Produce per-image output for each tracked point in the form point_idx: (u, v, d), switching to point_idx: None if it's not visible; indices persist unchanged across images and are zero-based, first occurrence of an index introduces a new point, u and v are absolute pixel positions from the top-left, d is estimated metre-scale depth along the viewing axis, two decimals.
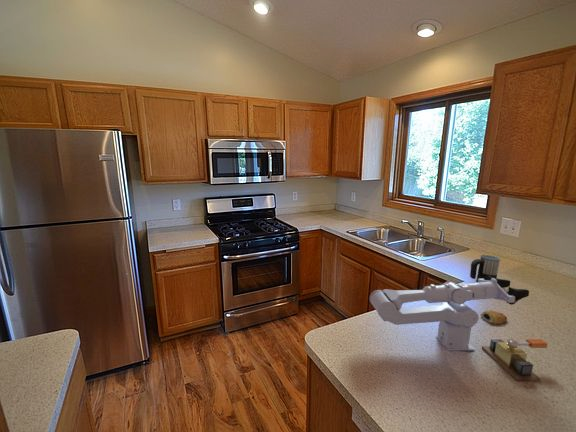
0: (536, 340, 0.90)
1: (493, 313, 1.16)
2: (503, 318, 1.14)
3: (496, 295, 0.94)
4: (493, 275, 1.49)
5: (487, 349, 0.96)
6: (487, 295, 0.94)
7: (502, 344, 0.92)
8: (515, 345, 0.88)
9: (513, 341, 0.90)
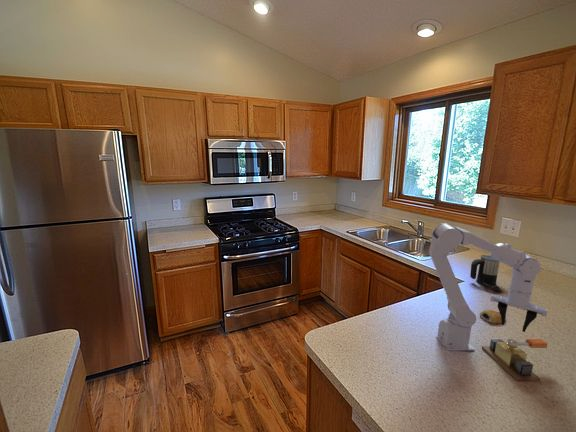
0: (536, 340, 0.90)
1: (492, 312, 1.16)
2: None
3: (528, 304, 0.91)
4: (493, 275, 1.49)
5: (487, 349, 0.96)
6: None
7: (502, 344, 0.92)
8: (515, 345, 0.88)
9: (513, 341, 0.90)
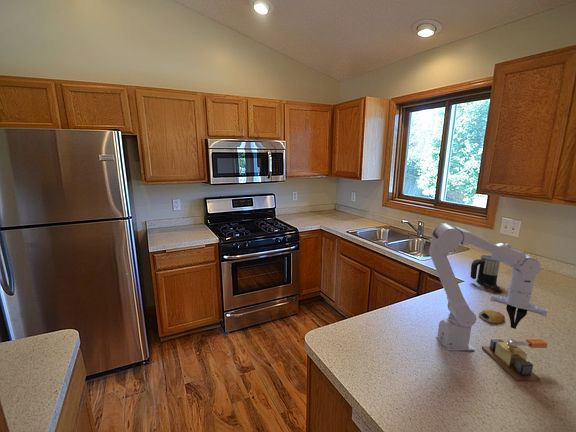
0: (536, 340, 0.90)
1: (491, 312, 1.16)
2: (501, 317, 1.15)
3: (528, 304, 0.91)
4: (493, 275, 1.48)
5: (487, 349, 0.96)
6: None
7: (502, 344, 0.92)
8: (515, 345, 0.88)
9: (513, 341, 0.90)
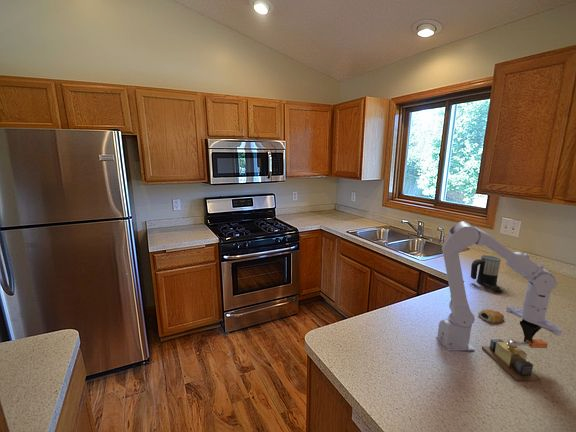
0: (536, 340, 0.90)
1: (491, 312, 1.16)
2: (500, 317, 1.15)
3: (541, 320, 0.87)
4: (494, 275, 1.48)
5: (487, 349, 0.96)
6: (544, 310, 0.87)
7: (502, 344, 0.92)
8: (515, 345, 0.88)
9: (513, 341, 0.90)
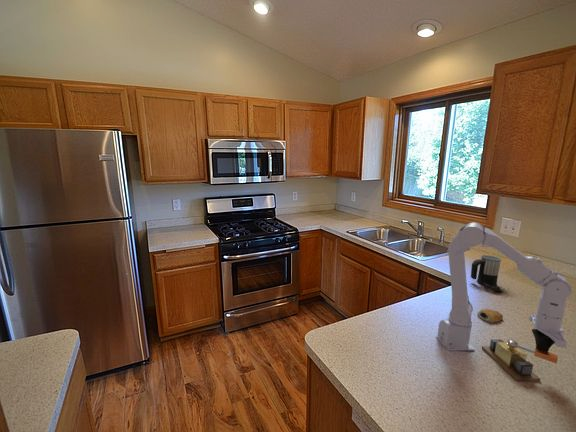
0: (547, 352, 0.84)
1: (490, 312, 1.17)
2: (499, 316, 1.16)
3: (550, 329, 0.82)
4: (494, 275, 1.48)
5: (487, 349, 0.96)
6: (553, 320, 0.82)
7: (502, 344, 0.92)
8: (511, 344, 0.89)
9: (513, 341, 0.89)
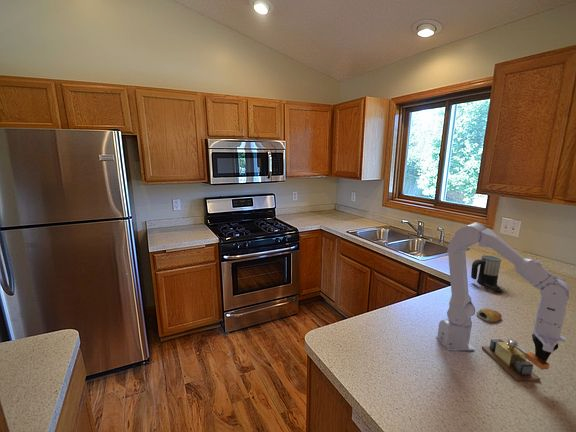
0: (539, 359, 0.81)
1: (489, 311, 1.17)
2: (498, 316, 1.16)
3: (544, 334, 0.80)
4: (494, 275, 1.48)
5: (487, 349, 0.96)
6: (548, 325, 0.79)
7: (502, 344, 0.92)
8: (508, 343, 0.89)
9: (513, 342, 0.89)
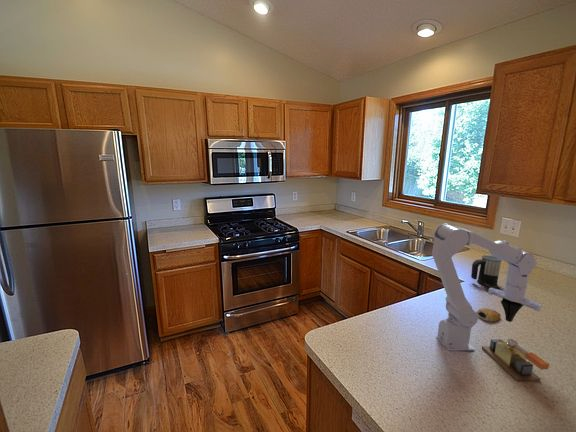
0: (539, 359, 0.81)
1: (488, 311, 1.17)
2: (497, 315, 1.16)
3: (522, 298, 0.94)
4: (494, 276, 1.48)
5: (487, 349, 0.96)
6: (525, 289, 0.93)
7: (502, 344, 0.92)
8: (508, 343, 0.90)
9: (513, 342, 0.89)
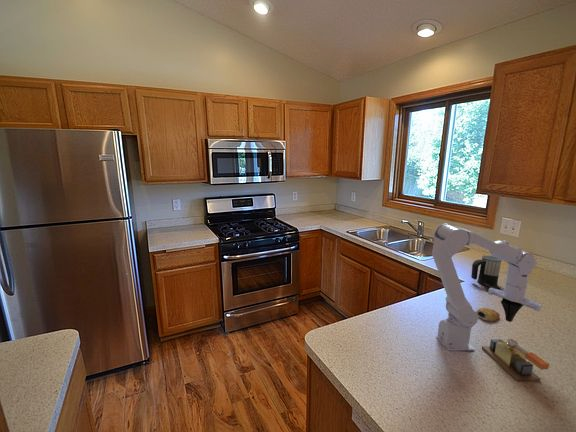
0: (539, 359, 0.81)
1: (487, 311, 1.17)
2: (496, 315, 1.17)
3: (522, 298, 0.94)
4: (494, 276, 1.48)
5: (487, 349, 0.96)
6: (525, 289, 0.93)
7: (502, 344, 0.92)
8: (508, 343, 0.90)
9: (513, 342, 0.89)
